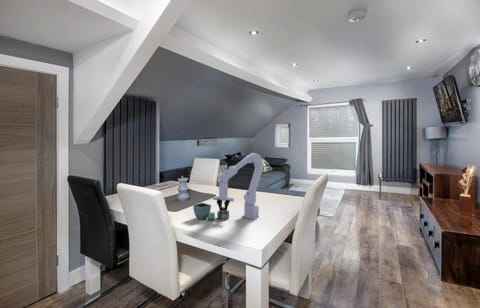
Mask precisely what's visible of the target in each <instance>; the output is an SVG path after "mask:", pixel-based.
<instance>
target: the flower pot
mask: <svg viewBox="0 0 480 308" xmlns="http://www.w3.org/2000/svg"><path fill="white" fill-rule="evenodd" d="M192 208H193V213H194V216H195V217H196V219H197V220H198V219H199V220H205V219H208V213H209V212H211V208H212V205H211V204H209V203H206V202H200V203H196V204H193V205H192Z"/></svg>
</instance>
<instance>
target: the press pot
mask: <svg viewBox="0 0 480 308" xmlns="http://www.w3.org/2000/svg"><path fill="white" fill-rule="evenodd" d="M216 217H217V220H220V221H227V220H229V219H230V210H227V211H226V212H225V210H224V212H223V210H222V211H220V210H218V211H217V216H216Z"/></svg>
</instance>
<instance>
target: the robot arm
mask: <svg viewBox="0 0 480 308" xmlns="http://www.w3.org/2000/svg"><path fill="white" fill-rule="evenodd" d="M247 164H253V166H254V171H253V174H252V178H251V181H250V183H249V187H248V189H247V190H246V193H245V194H244V195H243V200H244V212H243V213H244V214H243V215H241V217H243V218H246V219H251V220H254V219H256V218H258V217H260V215H259V214H260V213H259V209H260V208H259V206H258V205H257V204H256V201H257V188H258V186H259V183H260V179H261V176H262V173H263V170H264V164H263V157H262V156H261V155H260V153H256V152H250V153H249V154H248V155H246V156H245V157H244V158H242V159H241V160H240V161H239V162H238V163H237V164H235V165H230V166H228V168H227V169H226V170H225V171H224V170H223V172H222V173H220V174H219V176H218V180H219V185H218V190H219V191H218V196H212V201H216V204H217V205H218V209H219V210H218V211H222V210H221V207H223V204H224V207H225V210H224V211H225V212H226V211H228V208H229V207H228V206H229V205H230V203H231V202H235V198H234V197H230V196H228V195H229V193H228V192H229V191H228V190H229V189H228V188H229V184H228V182H229V180H230V179H231V178H232V177H234V176H235V175H236V174H237V173H238V171H239V170H240V169H241V168H242V167H244V166H246V165H247ZM223 201H224V202H223Z"/></svg>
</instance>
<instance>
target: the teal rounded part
mask: <svg viewBox="0 0 480 308" xmlns="http://www.w3.org/2000/svg"><path fill="white" fill-rule="evenodd" d="M215 213H216V212H213V211H210V212H209V213H208V217H207V221H208V222H213V221H215V219H216V215H215Z"/></svg>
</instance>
